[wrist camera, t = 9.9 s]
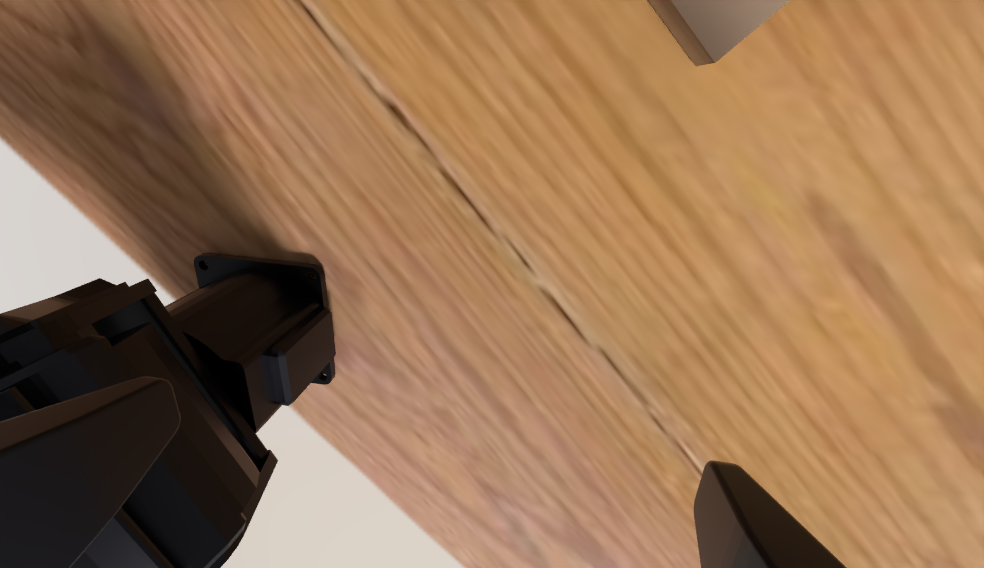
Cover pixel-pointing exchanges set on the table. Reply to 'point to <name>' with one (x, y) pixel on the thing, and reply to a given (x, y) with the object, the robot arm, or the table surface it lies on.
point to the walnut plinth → (713, 24)
